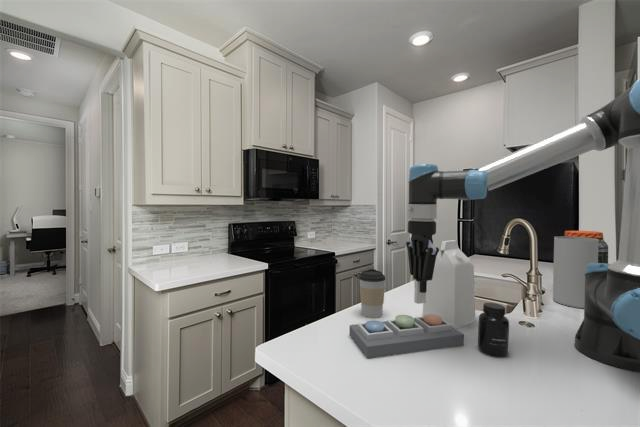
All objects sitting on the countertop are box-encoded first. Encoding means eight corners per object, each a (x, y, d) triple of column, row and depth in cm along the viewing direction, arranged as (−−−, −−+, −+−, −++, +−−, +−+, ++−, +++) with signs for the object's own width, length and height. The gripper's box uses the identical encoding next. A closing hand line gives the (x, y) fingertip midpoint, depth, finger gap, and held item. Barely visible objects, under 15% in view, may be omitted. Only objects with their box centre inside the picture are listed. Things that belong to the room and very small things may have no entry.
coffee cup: (385, 320, 95) (385, 275, 94) (357, 318, 96) (357, 273, 96) (384, 310, 103) (385, 268, 103) (359, 308, 105) (359, 267, 105)
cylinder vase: (549, 303, 110) (551, 238, 109) (555, 296, 119) (557, 235, 118) (594, 312, 101) (596, 241, 100) (598, 303, 109) (599, 238, 109)
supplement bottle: (498, 360, 70) (499, 312, 70) (472, 348, 76) (472, 303, 76) (514, 354, 73) (515, 307, 73) (488, 342, 79) (488, 299, 79)
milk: (443, 309, 104) (444, 238, 103) (475, 320, 94) (476, 241, 93) (422, 317, 97) (423, 240, 96) (454, 329, 88) (455, 244, 87)
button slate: (387, 332, 77) (387, 327, 77) (370, 335, 75) (370, 328, 75) (379, 325, 81) (379, 319, 81) (362, 327, 80) (362, 321, 80)
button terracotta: (446, 326, 81) (446, 320, 81) (430, 327, 80) (430, 322, 80) (435, 319, 86) (435, 313, 86) (420, 320, 85) (420, 315, 85)
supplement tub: (601, 288, 129) (603, 231, 128) (613, 298, 116) (614, 234, 115) (556, 283, 137) (557, 229, 137) (562, 291, 124) (563, 232, 123)
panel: (463, 345, 78) (464, 328, 78) (367, 358, 71) (367, 340, 71) (433, 325, 90) (434, 311, 90) (349, 335, 84) (349, 320, 84)
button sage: (417, 326, 79) (417, 320, 79) (401, 328, 78) (401, 322, 78) (407, 319, 84) (407, 314, 84) (392, 321, 82) (392, 315, 82)
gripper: (398, 218, 87) (397, 296, 88) (423, 221, 74) (420, 312, 75) (421, 218, 88) (419, 294, 89) (448, 221, 76) (446, 309, 77)
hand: (420, 302), depth 82 cm, fingers closed
